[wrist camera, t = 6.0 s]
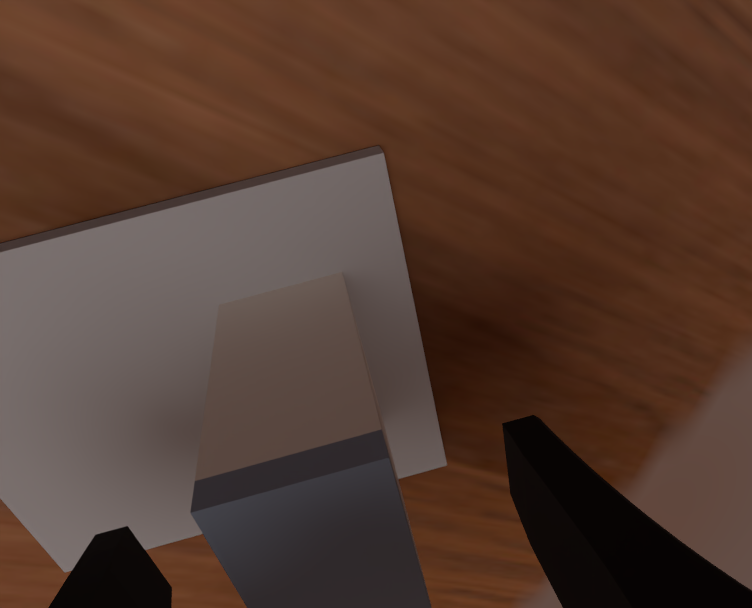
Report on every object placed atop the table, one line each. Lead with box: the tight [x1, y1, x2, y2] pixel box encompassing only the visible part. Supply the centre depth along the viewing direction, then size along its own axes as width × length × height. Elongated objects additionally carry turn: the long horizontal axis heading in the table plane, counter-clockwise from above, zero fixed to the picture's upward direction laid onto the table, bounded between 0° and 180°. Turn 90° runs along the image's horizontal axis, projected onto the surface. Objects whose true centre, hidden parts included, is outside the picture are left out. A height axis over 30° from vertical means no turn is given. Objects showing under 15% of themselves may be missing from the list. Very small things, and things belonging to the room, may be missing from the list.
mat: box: [0, 145, 447, 572], centre depth 15 cm, size 12×10×1 cm
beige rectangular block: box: [190, 272, 432, 608], centre depth 12 cm, size 3×5×6 cm, turn 12°
